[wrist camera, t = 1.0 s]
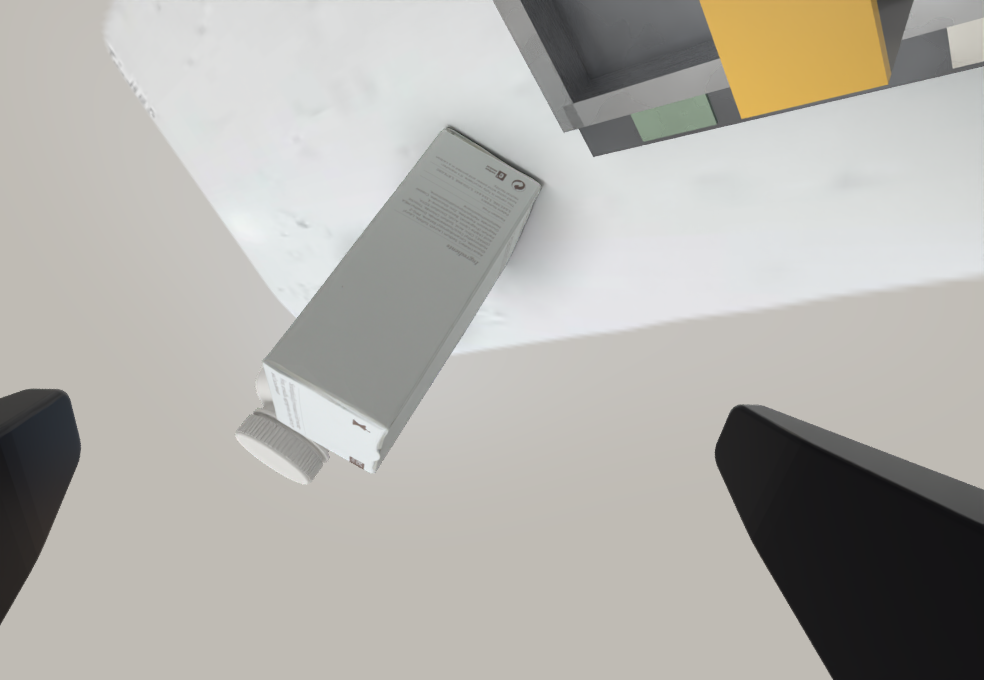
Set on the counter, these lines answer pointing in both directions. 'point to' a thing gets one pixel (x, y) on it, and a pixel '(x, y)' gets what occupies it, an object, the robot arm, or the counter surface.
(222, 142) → the counter surface
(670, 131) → the grey shallow rectangular piece
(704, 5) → the breaker handle
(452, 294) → the skincare box
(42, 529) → the robot arm
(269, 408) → the pill bottle
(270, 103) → the counter surface
